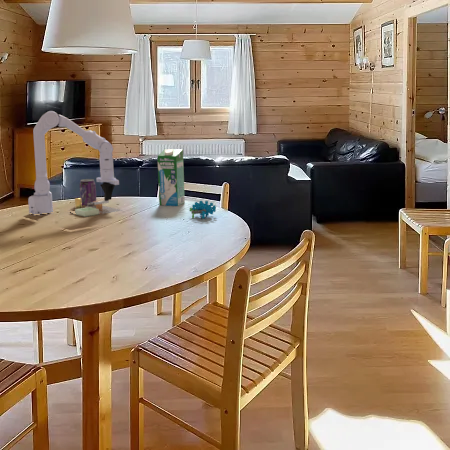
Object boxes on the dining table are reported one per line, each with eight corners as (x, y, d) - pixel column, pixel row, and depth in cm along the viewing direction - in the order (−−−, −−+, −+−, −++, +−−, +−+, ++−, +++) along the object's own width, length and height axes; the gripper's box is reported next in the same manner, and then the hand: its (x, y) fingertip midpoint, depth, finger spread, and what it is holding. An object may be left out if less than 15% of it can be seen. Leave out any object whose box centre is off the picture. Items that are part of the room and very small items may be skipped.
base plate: (85, 218, 253) (84, 209, 252) (63, 213, 265) (63, 204, 264) (123, 211, 266) (122, 202, 265) (101, 207, 278) (100, 198, 277)
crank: (89, 206, 263) (89, 197, 262) (86, 205, 265) (85, 196, 264) (110, 202, 270) (109, 194, 269) (106, 201, 272) (106, 193, 271)
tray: (84, 216, 253) (84, 211, 252) (75, 214, 258) (75, 209, 257) (99, 214, 258) (98, 209, 257) (89, 212, 263) (89, 207, 262)
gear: (219, 211, 255) (212, 198, 247) (218, 223, 252) (211, 210, 244) (193, 214, 258) (186, 201, 250) (192, 226, 255) (185, 213, 246)
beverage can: (79, 205, 283) (77, 179, 280) (94, 203, 286) (93, 178, 283) (82, 207, 276) (81, 181, 274) (98, 206, 279) (96, 180, 277)
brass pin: (77, 212, 263) (77, 199, 262) (74, 211, 265) (73, 198, 264) (83, 211, 265) (82, 198, 264) (79, 210, 267) (79, 197, 266)
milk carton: (159, 205, 279) (157, 150, 274) (166, 201, 288) (164, 148, 282) (177, 206, 277) (175, 150, 271) (184, 202, 285) (183, 148, 280)
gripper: (124, 169, 263) (125, 200, 266) (105, 166, 274) (107, 196, 277) (110, 170, 259) (112, 202, 262) (91, 168, 269) (93, 198, 272)
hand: (108, 199), depth 269 cm, fingers closed
